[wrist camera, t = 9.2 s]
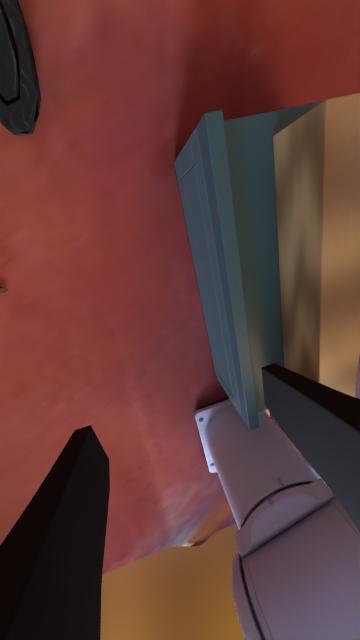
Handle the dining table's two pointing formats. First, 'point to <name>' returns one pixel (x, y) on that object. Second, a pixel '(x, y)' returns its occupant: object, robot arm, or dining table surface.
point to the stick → (320, 241)
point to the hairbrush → (17, 72)
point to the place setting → (3, 289)
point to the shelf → (237, 245)
